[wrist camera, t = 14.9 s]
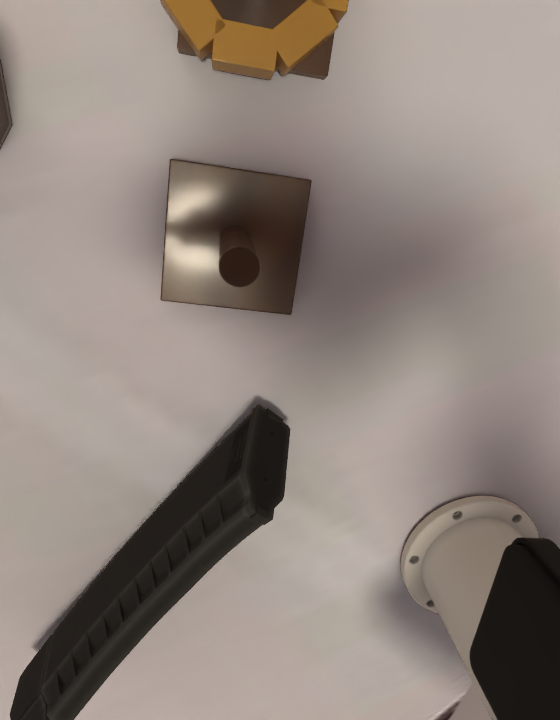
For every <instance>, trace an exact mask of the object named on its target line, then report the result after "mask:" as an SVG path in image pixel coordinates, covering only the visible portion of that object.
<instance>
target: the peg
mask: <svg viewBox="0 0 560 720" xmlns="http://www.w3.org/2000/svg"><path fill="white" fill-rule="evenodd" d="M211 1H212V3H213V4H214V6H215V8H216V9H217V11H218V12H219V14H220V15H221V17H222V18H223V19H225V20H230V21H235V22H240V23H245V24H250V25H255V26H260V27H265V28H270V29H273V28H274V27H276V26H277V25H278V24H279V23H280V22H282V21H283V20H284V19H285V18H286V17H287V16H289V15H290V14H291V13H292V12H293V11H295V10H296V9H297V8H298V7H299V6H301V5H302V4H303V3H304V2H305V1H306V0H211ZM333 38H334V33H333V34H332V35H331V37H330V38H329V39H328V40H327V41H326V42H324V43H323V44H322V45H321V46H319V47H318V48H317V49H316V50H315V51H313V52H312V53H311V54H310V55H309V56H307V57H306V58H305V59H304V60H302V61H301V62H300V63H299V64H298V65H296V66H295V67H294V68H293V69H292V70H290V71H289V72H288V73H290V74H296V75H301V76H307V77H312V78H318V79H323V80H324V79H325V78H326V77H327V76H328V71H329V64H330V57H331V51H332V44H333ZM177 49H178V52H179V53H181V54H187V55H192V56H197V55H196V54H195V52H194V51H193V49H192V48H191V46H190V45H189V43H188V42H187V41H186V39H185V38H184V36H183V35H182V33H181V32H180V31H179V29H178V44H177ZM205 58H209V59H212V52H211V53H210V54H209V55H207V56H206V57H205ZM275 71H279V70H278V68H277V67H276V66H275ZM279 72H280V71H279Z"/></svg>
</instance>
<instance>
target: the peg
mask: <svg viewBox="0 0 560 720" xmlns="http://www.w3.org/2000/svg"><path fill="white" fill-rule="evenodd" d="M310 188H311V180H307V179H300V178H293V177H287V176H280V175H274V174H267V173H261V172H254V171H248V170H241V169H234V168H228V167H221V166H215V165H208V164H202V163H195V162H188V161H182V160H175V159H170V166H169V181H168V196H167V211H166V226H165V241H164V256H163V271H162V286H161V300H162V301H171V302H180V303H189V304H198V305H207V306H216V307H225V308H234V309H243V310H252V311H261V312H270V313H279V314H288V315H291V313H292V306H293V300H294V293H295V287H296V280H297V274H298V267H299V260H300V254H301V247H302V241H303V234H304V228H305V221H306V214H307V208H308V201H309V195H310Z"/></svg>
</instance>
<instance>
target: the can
mask: <svg viewBox="0 0 560 720" xmlns="http://www.w3.org/2000/svg"><path fill="white" fill-rule="evenodd" d="M11 127H12V120H11V115H10V109H9V104H8V98H7V93H6V87H5V82H4V76H3V71H2V65H1V60H0V148H1V146H2V144H3V142H4V140H5V138H6V136H7V134H8V132H9V130H10V128H11Z"/></svg>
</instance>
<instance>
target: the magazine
mask: <svg viewBox="0 0 560 720" xmlns="http://www.w3.org/2000/svg"><path fill="white" fill-rule="evenodd" d="M289 437H290V428H289V426H288V425H286V424H285V423H284V422H283V419H282V418H280V417H279V416H278V415H276V414H275V413H274V412H272V411H271V410H270V409H268V408H267V409H265V408H263V407H262V406H261V405H257V406H256V407H254V408H253V411H252V413H251V414H250V415H249V416H248V417H247V418H246V419H245V420H244V421H243V422H242V423H241V424H240V425H239V426H238V427H237V428H236V429H235V430H234V431H233V432H232V433H231V434H230V435H229V436H228V437H227V438H226V439H225V440H224V441H223V442H222V443H221V444H220V445H219V446H218V447H217V448H216V449H215V450H214V451H213V452H212V453H211V454H210V455H209V456H208V457H207V458H206V459H205V460H204V461H203V462H202V463H201V464H200V465H199V466H198V467H197V468H196V469H195V470H194V471H193V472H192V473H191V474H190V475H189V476H188V477H187V478H186V479H185V480H184V481H183V483H182V484H181V485H180V486H179V487H178V488H177V489H176V490H175V491H174V492H173V493H172V494H171V495H170V496H169V497H168V498H167V499H166V500H165V501H164V503H163V504H162V505H161V506H160V507H159V508H158V509H157V510H156V511H155V512H154V513H153V515H152V516H151V517H150V518H149V519H148V520H147V521H146V522H145V523H144V524H143V526H142V527H141V528H140V529H139V530H138V531H137V532H136V533H135V534H134V536H133V537H132V538H131V539H130V540H129V541H128V542H127V544H126V545H125V546H124V547H123V548H122V549H121V551H120V552H119V553H118V554H117V555H116V556H115V558H114V559H113V560H112V561H111V562H110V563H109V565H108V566H107V567H106V568H105V569H104V571H103V572H102V573H101V574H100V575H99V577H98V578H97V579H96V580H95V582H94V583H93V584H92V585H91V587H90V588H89V589H88V590H87V592H86V593H85V594H84V595H83V597H82V598H81V599H80V600H79V601H78V603H77V604H76V605H75V606H74V608H73V609H72V610H71V611H70V613H69V614H68V615H67V616H66V618H65V619H64V620H63V621H62V623H61V624H60V625H59V626H58V628H57V629H56V630H55V632H54V633H53V634H52V635H51V636H50V637H49V638H48V640H47V641H46V642H45V644H44V645H43V646H42V648H41V649H40V650H39V652H38V653H37V654H36V656H35V657H34V658H33V660H32V661H31V662H30V663H29V665H28V666H27V667H26V669H25V670H24V672H23V673H22V675H21V677H20V679H19V682H18V686H17V690H16V693H15V697H14V701H13V704H12V708H11V712H10V719H11V720H74V719H75V717H76V716H77V715H78V714H79V712H80V711H81V710H82V709H83V708H84V706H85V705H86V704H87V702H88V701H89V700H90V699H91V697H92V696H93V695H94V694H95V693H96V691H97V690H98V689H99V688H100V686H101V685H102V684H103V683H104V682H105V680H106V679H107V678H108V677H109V676H110V674H111V673H112V672H113V671H114V670H115V669H116V667H117V666H118V665H119V664H120V663H121V662H122V661H123V660H124V658H125V657H126V656H127V655H128V654H129V653H130V652H131V650H132V649H133V648H134V647H135V646H136V645H137V644H138V643H139V641H140V640H141V639H142V638H143V637H144V636H145V635H146V634H147V633H148V632H149V631H150V629H151V628H152V627H153V626H154V625H155V624H156V623H157V622H158V621H159V620H160V619H161V618H162V617H163V616H164V615H165V614H166V613H167V612H168V611H169V610H170V609H171V608H172V607H173V606H174V605H175V604H176V603H177V602H178V601H179V600H180V599H181V598H182V597H183V596H184V595H185V594H186V593H187V592H188V591H189V590H190V589H191V588H192V587H193V586H194V585H195V584H196V583H197V582H198V581H199V580H200V579H201V578H202V577H203V576H204V575H205V574H206V573H207V572H208V571H209V570H210V569H211V568H212V567H213V566H214V565H215V564H216V563H217V562H218V561H219V560H221V559H222V558H223V557H224V556H225V555H226V554H227V553H228V552H229V551H231V550H232V549H233V548H234V547H235V546H236V545H238V544H239V543H240V542H241V541H242V540H244V539H245V538H246V537H247V536H248V535H250V534H251V533H252V532H254V531H255V530H256V529H258V528H259V527H260V526H262V525H265V524H267V523H268V522H270V521H271V520H272V519H273V514H274V508H275V507H276V506H277V505H278V504H279V503H280V502H281V501H282V500H283V497H284V491H285V480H286V470H287V459H288V448H289Z"/></svg>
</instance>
